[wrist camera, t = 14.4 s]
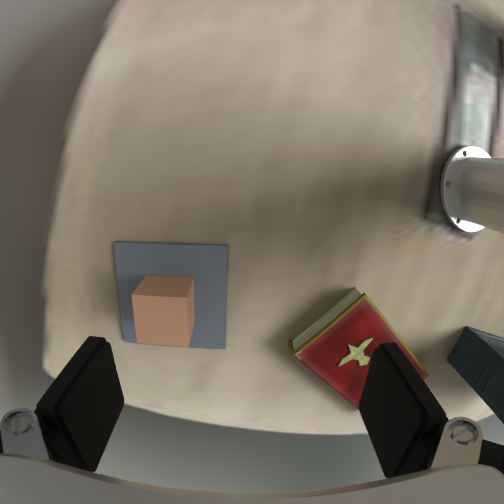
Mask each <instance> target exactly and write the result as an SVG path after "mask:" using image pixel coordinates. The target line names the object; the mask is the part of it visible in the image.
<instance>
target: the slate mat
mask: <svg viewBox="0 0 504 504" xmlns="http://www.w3.org/2000/svg"><path fill="white" fill-rule="evenodd" d="M114 255H115V268H116V279H117V290H118V299H119V307H120V315H121V323H122V330H123V336H124V342H130V343H137V337H136V330H135V322H134V313H133V303H132V293H133V292H134V291H135V289H136V288H137V287H138V285H139V284H140V283H141V281H142V280H143V279H144V277H145V276H146V275H151V276H171V277H193V278H194V313H195V323H194V327H193V331H192V335H191V340H190V344H189V347H191V348H210V349H225V337H226V290H227V256H228V245H208V244H180V243H150V242H120V241H115V242H114ZM140 344H144V343H140ZM151 345H155V344H151ZM162 346H168V345H162ZM176 347H182V346H176Z"/></svg>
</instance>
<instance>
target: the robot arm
mask: <svg viewBox="0 0 504 504" xmlns="http://www.w3.org/2000/svg"><path fill="white" fill-rule="evenodd" d="M440 194H441V202H442V205H443V209H444V212H445V214H446V216H447V218H448V219H449V221H450V222H451V223H452V224H453V225H454V226H455V227H456V228H458V229H460V230H462V231H465V232H471V233H472V232H477V231H479V230H481V229H483V228H484V227H486V228H489V229H492V230H495V231H498V232H500V233H503V234H504V159H501V158H491V157H490V156H489V155H488V153H487V152H485V151H484V150H483V149H481V148H479V147H476V146H463V147H460V148H458V149H457V150H455V151H454V152H453V153H452V154H451V155H450V157H449V158H448V160H447V161H446V164H445V166H444V168H443V172H442V176H441V184H440ZM36 406H37V408H36V410H35V411H34V412H33V411H32V410H30V409H28V408H16V409H13V410H10V411H9V412H7V413H6V414H5V416H3V418H2V420H1V423H0V504H504V446H503V445H500V444H496V443H493V442H490V441H486V440H483V439H482V437H483V435H482V430H481V428H480V426H479V425H478V424H477V423H476V422H475V421H473V420H471V419H469V418H465V417H455V418H453V419H450V420H448V418H447V417H446V413H445V411H444V410H443V408H442V407H441V405H440V404H439V403H438V401H437V400H436V398H435V397H434V395H433V394H432V392H431V391H430V389H429V388H428V387H427V385H426V384H425V382H424V381H423V379H422V378H421V377H420V375H419V374H418V372H417V371H416V370H415V368H414V367H413V365H412V364H411V363H410V361H409V360H408V358H407V357H406V356H405V354H404V353H403V352H402V350H401V349H400V348H399V346H398V345H397V344H396V343H395V342H392V343H381V344H379V346H378V348H375V349H374V351H373V355H372V359H371V363H370V367H369V370H368V374H367V378H366V381H365V385H364V388H363V391H362V395H361V398H360V401H359V411H360V414H361V416H362V419H363V421H364V424H365V426H366V429H367V431H368V434H369V436H370V439H371V441H372V444H373V447H374V449H375V452H376V454H377V457H378V460H379V462H380V465H381V467H382V470H383V473H384V475H385V477H386V478H388V479H383V480H379V481H373V482H367V483H362V484H357V485H350V486H344V487H337V488H328V489H320V490H310V491H297V492H281V493H227V492H208V491H196V490H186V489H178V488H170V487H162V486H156V485H149V484H143V483H138V482H133V481H128V480H123V479H119V478H114V477H110V476H105V475H102V474H97V473H93V472H95V471H96V469H97V467H98V464H99V462H100V459H101V457H102V454H103V452H104V450H105V447H106V445H107V443H108V440H109V438H110V436H111V433H112V431H113V429H114V426H115V424H116V422H117V420H118V417H119V415H120V413H121V410H122V408H123V406H124V396H123V393H122V389H121V385H120V382H119V378H118V374H117V370H116V366H115V362H114V358H113V353H112V349H111V345H110V343H109V342H107V341H106V339H105V338H102V337H94V336H89V337H88V338H87V339H86V341H85V342H84V343H83V344H82V346H81V347H80V348H79V349H78V351H77V352H76V353H75V354H74V356H73V357H72V358H71V360H70V361H69V362H68V363H67V365H66V366H65V367H64V369H63V370H62V371H61V373H60V374H59V375H58V376H57V378H56V379H55V380H54V382H53V383H52V384H51V386H50V387H49V389H48V390H47V391H46V393H45V394H44V395H43V397H42V398H41V399H40V401H39V402H38V404H37V405H36Z"/></svg>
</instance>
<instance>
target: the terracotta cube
mask: <svg viewBox="0 0 504 504" xmlns="http://www.w3.org/2000/svg"><path fill="white" fill-rule="evenodd" d="M132 303H133V313H134V322H135V330H136V337H137V343H144V344H155V345H168V346H182V347H189V344H190V340H191V335H192V331H193V327H194V323H195V313H194V278H193V277H171V276H151V275H146V276H145V277H144V279H143V280H142V281H141V283H140V284H139V285H138V287H137V288H136V289H135V291H134V292H133V293H132Z"/></svg>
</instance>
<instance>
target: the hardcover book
mask: <svg viewBox="0 0 504 504" xmlns="http://www.w3.org/2000/svg"><path fill="white" fill-rule="evenodd" d="M392 342H395V343H396V344H397V345H398V346H399V348H400V349H401V350H402V352H403V353H404V354H405V356H406V357H407V358H408V360H409V361H410V363H411V364H412V365H413V367H414V368H415V370H416V371H417V372H418V374H419V375H420V377H421V378H422V379H423V380H424V379H426V378H427V377H428V376H429V374H428V373H427V372H426V370H425V369H424V368H423V366H422V365H421V364H420V362H419V361H418V360H417V358H416V357H415V356H414V354H413V353H412V352H411V350H410V349H409V348H408V347H407V345H406V344H405V343H404V341H403V340H402V339H401V337H400V336H399V335H398V334H397V332H396V331H395V330H394V329H393V327H392V326H391V325H390V324H389V322H388V321H387V320H386V319H385V317H384V316H383V315H382V314H381V312H380V311H379V310H378V309H377V307H376V306H375V305H374V304H373V302H372V301H371V300H370V299H369V298H368V296H367V295H366V294H365V293H363V294H361V293H360V292H359V291H358V290H357V289H356V288H355V287H354V288H353V289H352V290H351V291H350V292H349V293H348V294H347V295H346V296H344V297H343V298H342V299H341V300H340V301H339V302H338V303H337V304H335V305H334V306H333V307H332V308H331V309H330V310H329V311H327V312H326V313H325V314H324V315H323V316H322V317H320V318H319V319H318V320H317V321H316V322H315V323H313V324H312V325H311V326H310V327H309V328H307V329H306V330H305V331H304V332H303V333H301V334H300V335H299V336H298V337H296V338H295V339H294V340H293V341H292V340H291V339H290V340H289V341H288V346H289V349H290V351H291V353H292V354H293V355H294V356H295V357H296V358H298V359H299V360H300V361H301V362H302V363H303V364H305V365H306V366H307V367H308V368H309V369H310V370H312V371H313V372H314V373H315V374H316V375H318V376H319V377H320V378H321V379H322V380H323V381H325V382H326V383H327V384H328V385H329V386H331V387H332V388H333V389H334V390H336V391H337V392H338V393H339V394H340V395H342V396H343V397H344V398H345V399H346V400H348V401H349V402H350V403H351V404H353V405H354V406H355V407H356V408H358V409H359V401H360V398H361V395H362V391H363V388H364V385H365V381H366V378H367V374H368V370H369V367H370V363H371V359H372V355H373V351H374V349H375V348H378V346H379V344H381V343H392Z"/></svg>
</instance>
